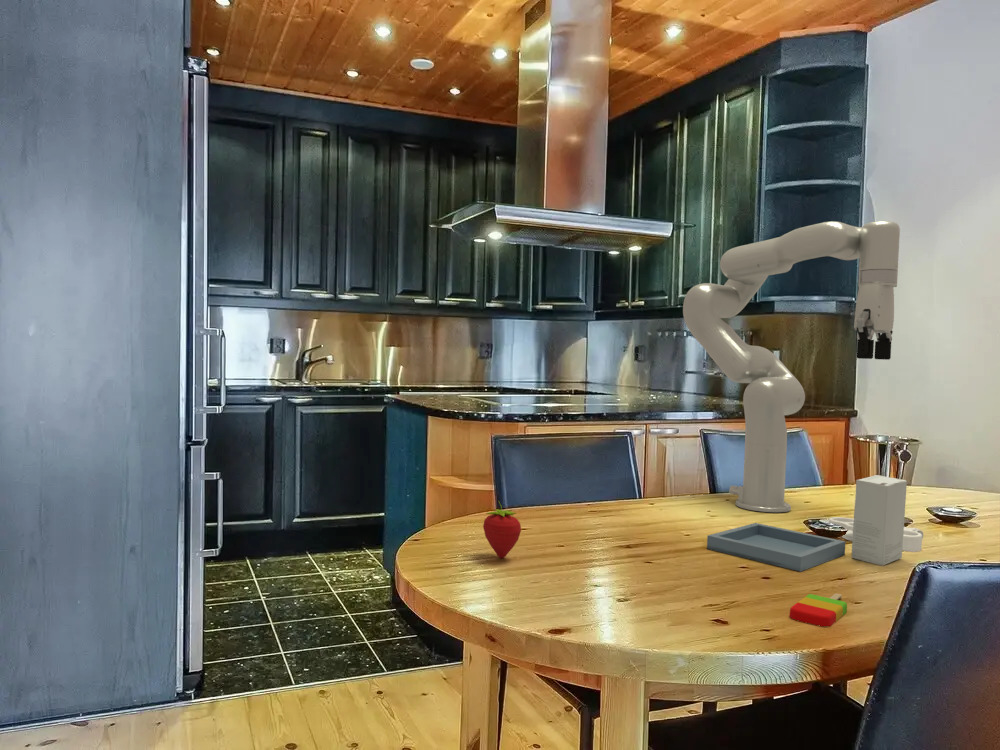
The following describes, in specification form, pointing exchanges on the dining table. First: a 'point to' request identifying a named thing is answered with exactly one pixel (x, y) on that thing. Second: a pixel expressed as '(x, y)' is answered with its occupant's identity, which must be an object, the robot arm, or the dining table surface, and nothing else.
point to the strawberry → (502, 531)
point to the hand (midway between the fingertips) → (873, 358)
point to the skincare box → (879, 519)
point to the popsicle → (819, 609)
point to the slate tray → (776, 546)
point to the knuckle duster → (910, 535)
